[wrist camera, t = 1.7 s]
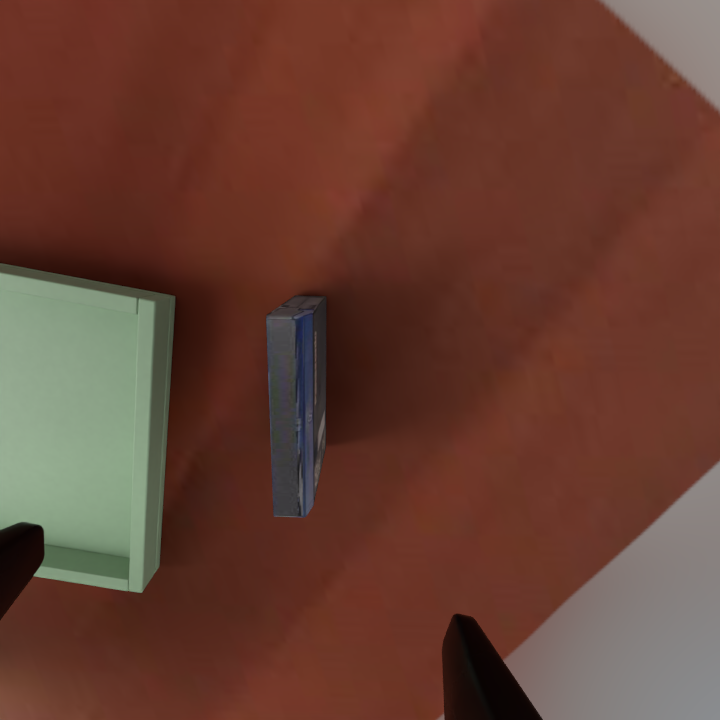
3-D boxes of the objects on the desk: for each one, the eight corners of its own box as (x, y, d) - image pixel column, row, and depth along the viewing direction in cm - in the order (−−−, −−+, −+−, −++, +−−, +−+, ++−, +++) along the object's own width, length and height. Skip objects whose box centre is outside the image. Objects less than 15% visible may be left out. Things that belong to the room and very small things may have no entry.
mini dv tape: (325, 446, 22) (311, 518, 16) (298, 446, 22) (273, 517, 16) (326, 295, 20) (309, 317, 14) (295, 294, 20) (266, 315, 14)
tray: (-87, 526, 24) (-127, 551, 22) (-128, 238, 19) (-183, 238, 17) (159, 566, 24) (141, 594, 22) (176, 295, 20) (155, 301, 18)
